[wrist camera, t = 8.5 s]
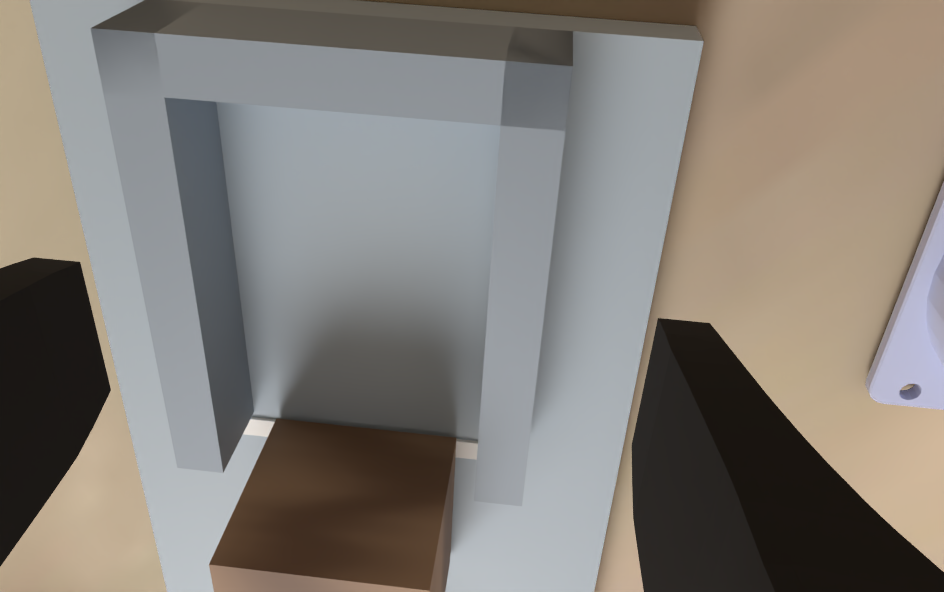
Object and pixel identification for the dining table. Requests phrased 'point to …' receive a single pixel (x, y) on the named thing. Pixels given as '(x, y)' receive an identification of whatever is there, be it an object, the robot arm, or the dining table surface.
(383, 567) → the brown block on rod
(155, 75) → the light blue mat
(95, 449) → the dining table surface
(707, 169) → the dining table surface
